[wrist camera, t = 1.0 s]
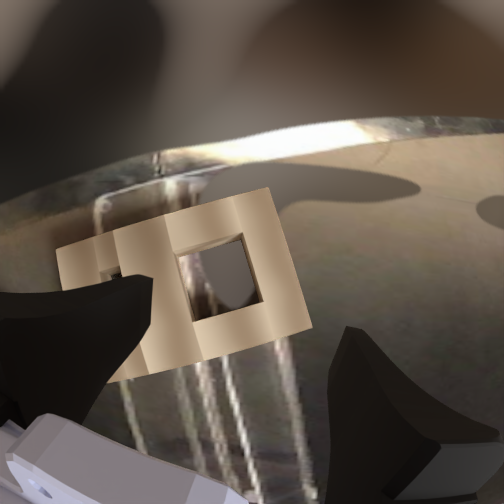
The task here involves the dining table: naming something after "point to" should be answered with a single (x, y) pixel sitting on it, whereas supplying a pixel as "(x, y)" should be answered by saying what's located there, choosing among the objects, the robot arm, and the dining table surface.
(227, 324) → the holder
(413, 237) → the dining table surface
